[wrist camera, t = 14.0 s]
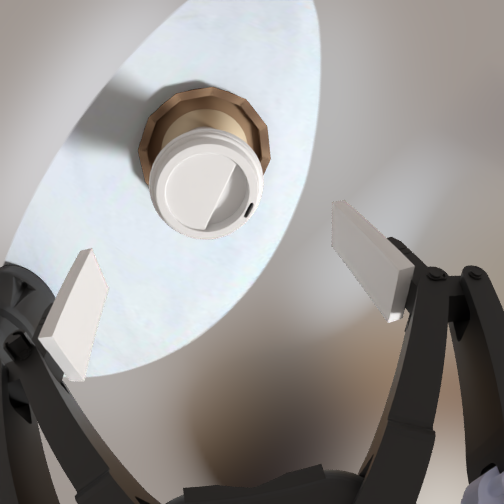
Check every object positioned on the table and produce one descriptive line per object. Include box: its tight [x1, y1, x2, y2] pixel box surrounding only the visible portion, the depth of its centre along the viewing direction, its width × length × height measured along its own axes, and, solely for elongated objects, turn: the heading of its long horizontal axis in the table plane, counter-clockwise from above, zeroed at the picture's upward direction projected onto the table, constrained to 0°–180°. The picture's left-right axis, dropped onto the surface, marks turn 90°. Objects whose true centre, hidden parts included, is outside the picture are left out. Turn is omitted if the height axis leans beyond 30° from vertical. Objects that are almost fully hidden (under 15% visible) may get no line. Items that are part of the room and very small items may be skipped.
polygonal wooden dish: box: [138, 87, 271, 185], centre depth 36 cm, size 16×16×2 cm
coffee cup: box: [149, 127, 264, 239], centre depth 29 cm, size 10×10×15 cm
